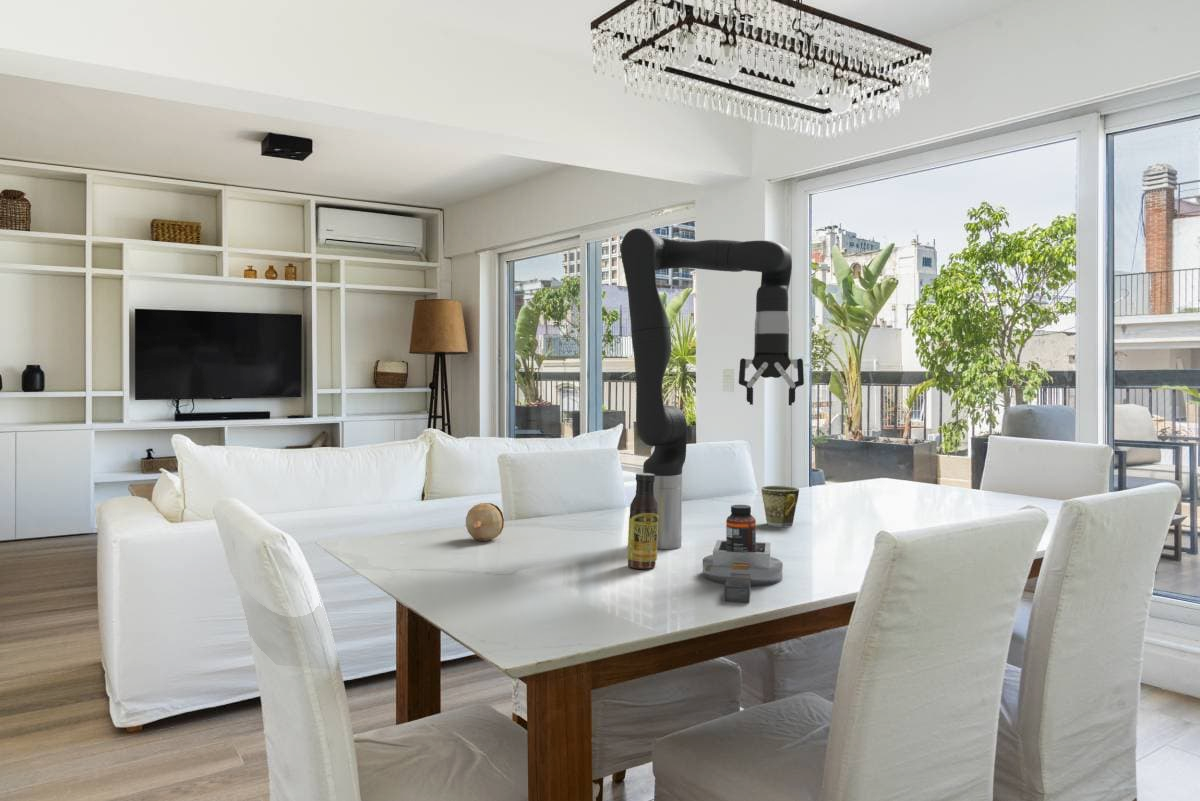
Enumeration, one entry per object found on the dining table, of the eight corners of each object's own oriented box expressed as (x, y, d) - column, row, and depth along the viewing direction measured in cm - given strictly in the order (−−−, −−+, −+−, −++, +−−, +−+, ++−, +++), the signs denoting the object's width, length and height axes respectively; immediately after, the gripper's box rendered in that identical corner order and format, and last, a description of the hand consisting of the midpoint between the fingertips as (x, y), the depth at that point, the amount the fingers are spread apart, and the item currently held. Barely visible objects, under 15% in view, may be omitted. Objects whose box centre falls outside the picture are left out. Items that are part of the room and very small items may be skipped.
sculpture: (510, 503, 210) (489, 496, 195) (513, 540, 207) (492, 536, 193) (476, 507, 211) (452, 501, 197) (478, 544, 209) (454, 541, 195)
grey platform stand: (692, 599, 152) (692, 566, 152) (706, 564, 179) (706, 537, 178) (782, 604, 148) (782, 571, 148) (782, 569, 175) (782, 540, 175)
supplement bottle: (752, 557, 172) (752, 503, 172) (758, 564, 166) (759, 508, 166) (723, 557, 172) (724, 503, 172) (728, 564, 166) (729, 508, 166)
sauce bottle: (632, 571, 173) (633, 476, 172) (623, 564, 179) (624, 472, 178) (662, 569, 174) (662, 475, 174) (652, 562, 180) (653, 471, 180)
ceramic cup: (754, 522, 229) (754, 486, 228) (786, 520, 232) (787, 485, 231) (778, 531, 216) (778, 493, 216) (811, 529, 219) (812, 491, 219)
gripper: (738, 331, 184) (737, 405, 184) (804, 331, 181) (803, 406, 181) (740, 333, 191) (739, 403, 192) (804, 333, 188) (803, 404, 188)
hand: (770, 404), depth 186 cm, fingers open, 8 cm apart
